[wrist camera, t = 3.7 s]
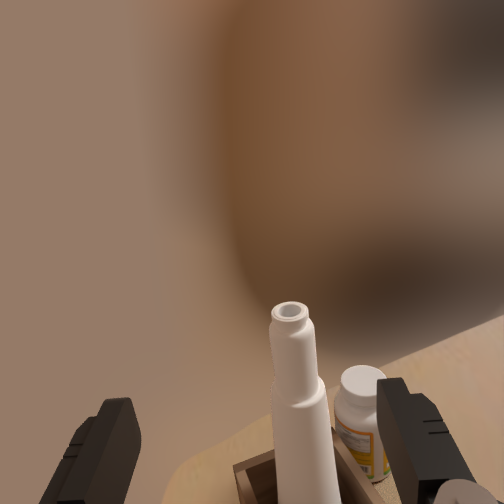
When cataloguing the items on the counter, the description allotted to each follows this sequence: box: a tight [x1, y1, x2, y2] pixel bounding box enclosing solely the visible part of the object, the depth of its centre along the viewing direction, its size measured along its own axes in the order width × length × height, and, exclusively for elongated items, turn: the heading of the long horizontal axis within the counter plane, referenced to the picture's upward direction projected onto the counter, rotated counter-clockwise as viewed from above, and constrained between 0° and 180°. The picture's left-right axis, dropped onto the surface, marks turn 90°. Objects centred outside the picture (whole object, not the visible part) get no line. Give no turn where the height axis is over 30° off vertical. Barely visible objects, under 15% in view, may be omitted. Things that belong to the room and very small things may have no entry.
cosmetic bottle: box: [269, 302, 341, 504], centre depth 29 cm, size 6×6×22 cm
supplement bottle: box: [334, 365, 391, 482], centre depth 38 cm, size 5×5×10 cm
